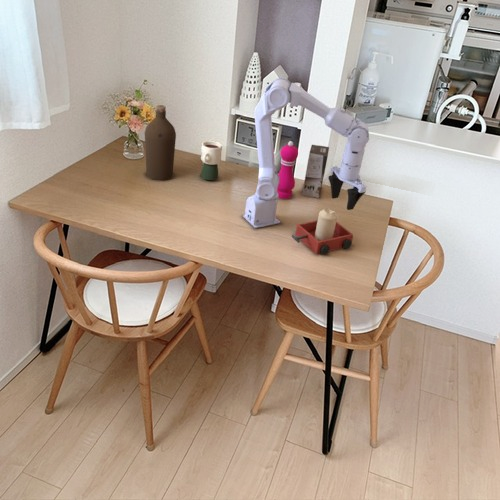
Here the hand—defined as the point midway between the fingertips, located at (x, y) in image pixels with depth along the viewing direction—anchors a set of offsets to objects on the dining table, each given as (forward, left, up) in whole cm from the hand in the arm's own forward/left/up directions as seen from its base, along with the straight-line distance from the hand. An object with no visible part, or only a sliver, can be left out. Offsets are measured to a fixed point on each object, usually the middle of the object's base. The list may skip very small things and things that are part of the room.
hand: (342, 203), depth 164 cm
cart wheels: (-10, -3, -10) cm, 15 cm away
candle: (-7, -3, -10) cm, 13 cm away
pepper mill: (-2, +28, -11) cm, 30 cm away
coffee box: (+10, +27, -11) cm, 30 cm away
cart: (-7, -3, -10) cm, 13 cm away
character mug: (-21, +48, -11) cm, 53 cm away
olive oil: (-37, +56, -11) cm, 68 cm away
